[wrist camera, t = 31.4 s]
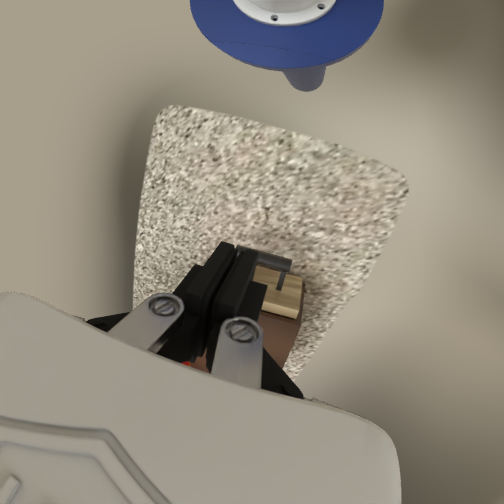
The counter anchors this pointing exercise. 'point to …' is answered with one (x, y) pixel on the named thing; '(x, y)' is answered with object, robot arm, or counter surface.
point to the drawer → (277, 284)
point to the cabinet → (272, 336)
